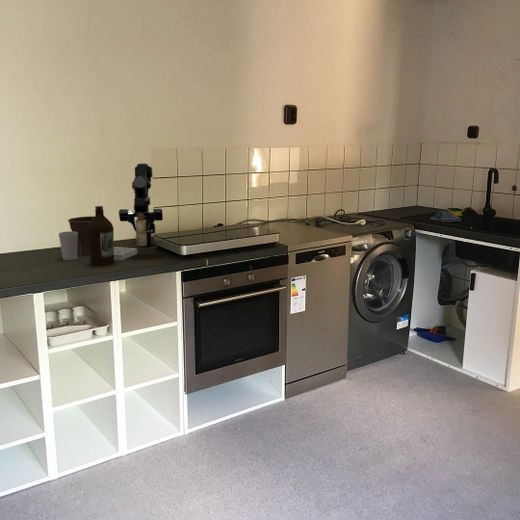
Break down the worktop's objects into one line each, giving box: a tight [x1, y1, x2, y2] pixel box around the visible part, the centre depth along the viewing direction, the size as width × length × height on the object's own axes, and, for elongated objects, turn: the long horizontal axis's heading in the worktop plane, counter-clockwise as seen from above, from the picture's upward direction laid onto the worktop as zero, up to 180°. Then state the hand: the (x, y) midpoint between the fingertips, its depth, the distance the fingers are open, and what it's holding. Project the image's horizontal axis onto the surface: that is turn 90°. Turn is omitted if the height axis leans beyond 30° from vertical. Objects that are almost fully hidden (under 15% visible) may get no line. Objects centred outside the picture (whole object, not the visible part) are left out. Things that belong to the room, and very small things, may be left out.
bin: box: [114, 246, 138, 261], centre depth 263 cm, size 14×12×3 cm
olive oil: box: [87, 205, 115, 267], centre depth 246 cm, size 11×11×25 cm
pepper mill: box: [135, 213, 147, 247], centre depth 255 cm, size 4×4×14 cm
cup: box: [58, 230, 78, 261], centre depth 257 cm, size 8×8×12 cm
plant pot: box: [67, 215, 95, 255], centre depth 271 cm, size 16×16×16 cm
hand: (140, 230), depth 254 cm, fingers closed on pepper mill, 4 cm apart
